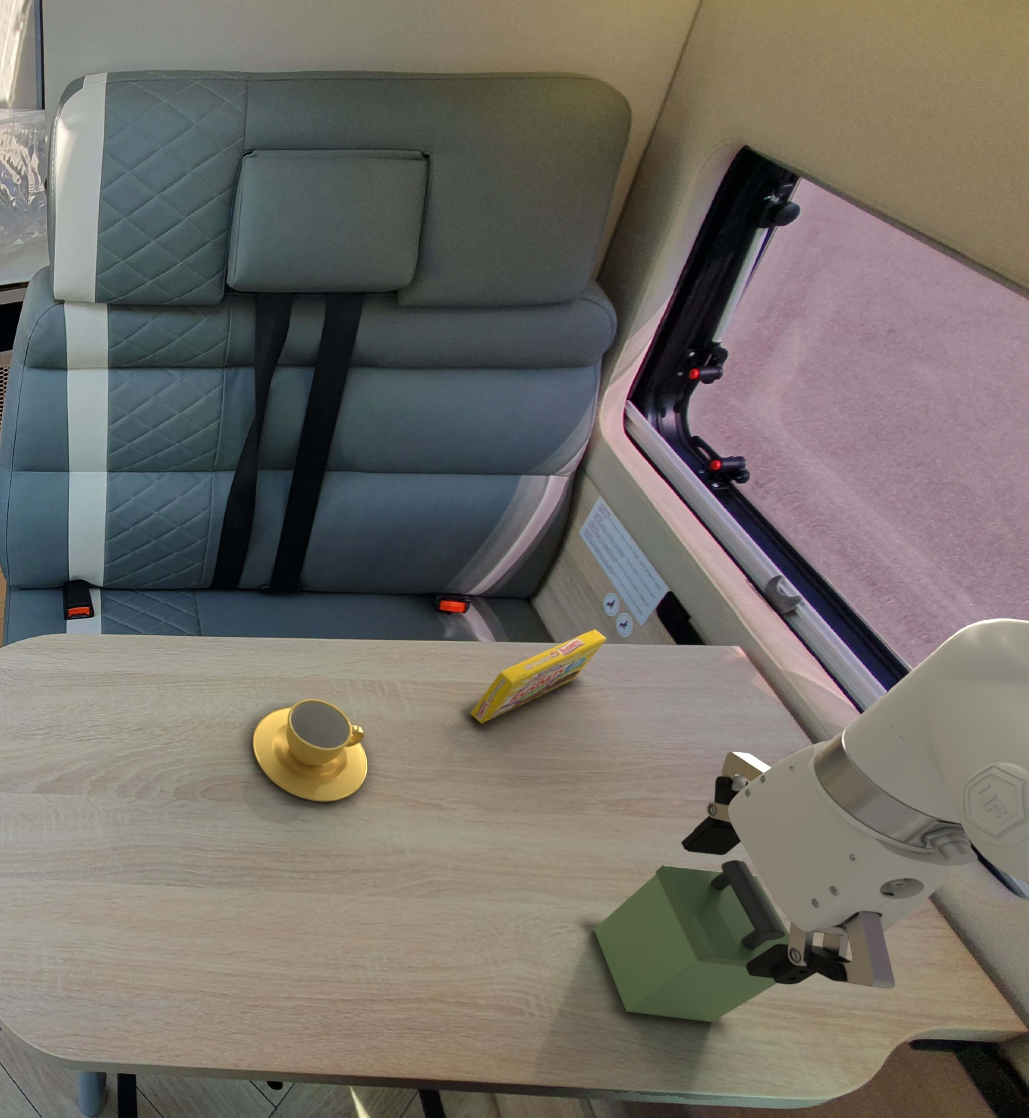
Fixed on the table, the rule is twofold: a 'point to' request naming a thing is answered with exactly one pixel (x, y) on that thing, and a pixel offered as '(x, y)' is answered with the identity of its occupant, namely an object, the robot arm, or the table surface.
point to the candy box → (537, 675)
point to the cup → (311, 751)
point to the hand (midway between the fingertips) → (732, 907)
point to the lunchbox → (691, 942)
